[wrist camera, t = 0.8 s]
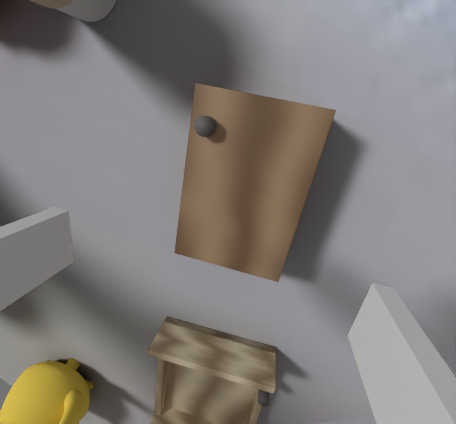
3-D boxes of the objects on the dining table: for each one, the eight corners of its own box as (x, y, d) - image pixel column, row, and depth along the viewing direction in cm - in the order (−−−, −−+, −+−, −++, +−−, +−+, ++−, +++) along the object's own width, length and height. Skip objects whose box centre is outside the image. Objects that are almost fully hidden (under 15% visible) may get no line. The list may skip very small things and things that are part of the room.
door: (190, 232, 29) (170, 257, 24) (211, 91, 23) (190, 80, 18) (278, 256, 28) (278, 288, 23) (323, 113, 22) (339, 109, 17)
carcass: (161, 401, 42) (145, 439, 37) (166, 316, 35) (147, 349, 30) (250, 430, 40) (246, 475, 35) (277, 347, 33) (277, 388, 27)
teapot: (54, 405, 50) (-5, 480, 39) (15, 352, 46) (-63, 420, 35) (131, 404, 44) (86, 492, 34) (94, 344, 40) (29, 422, 30)
